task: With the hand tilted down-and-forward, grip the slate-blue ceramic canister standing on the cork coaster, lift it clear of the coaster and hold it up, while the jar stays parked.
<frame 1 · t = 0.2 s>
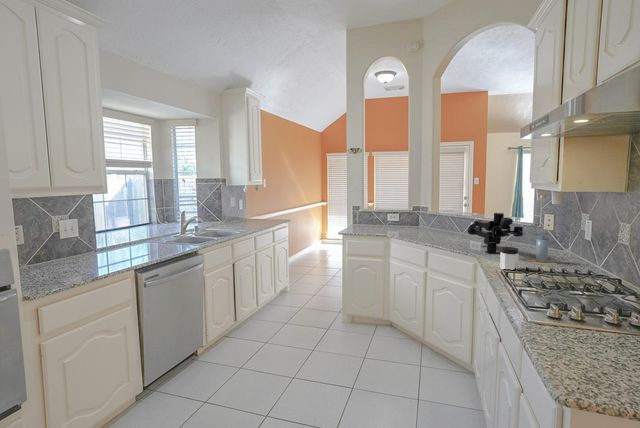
hand: (515, 234, 210), 17 cm above the countertop, tool horizontal, fingers open, 9 cm apart
coaster: (541, 262, 207), on the countertop
jar: (509, 269, 195), on the countertop
canister: (541, 261, 207), point 1 cm above the countertop, touching coaster
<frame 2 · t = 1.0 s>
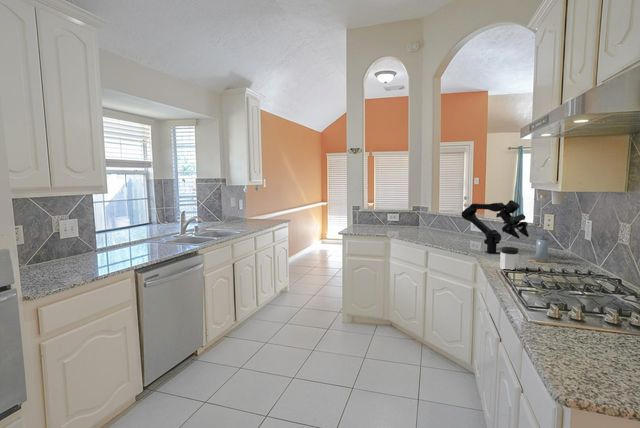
hand: (523, 237, 216), 14 cm above the countertop, tool tilted 45°, fingers open, 9 cm apart
nothing on the countertop moved.
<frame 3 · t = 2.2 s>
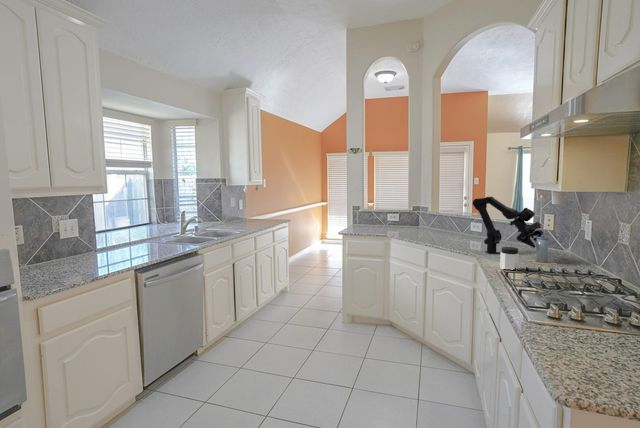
hand: (539, 246, 208), 10 cm above the countertop, tool tilted 45°, fingers open, 9 cm apart
nothing on the countertop moved.
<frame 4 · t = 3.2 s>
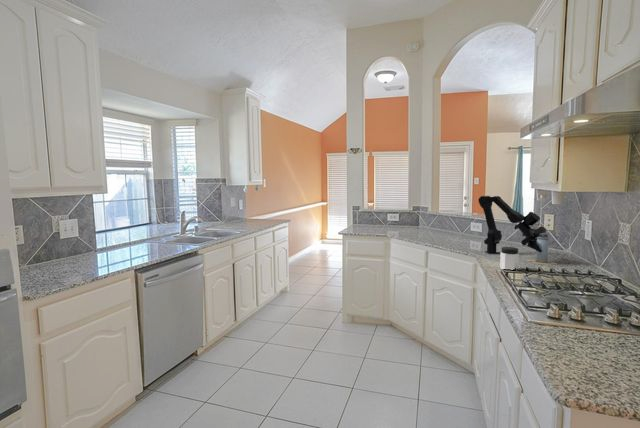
hand: (544, 251, 205), 7 cm above the countertop, tool tilted 45°, fingers closed on canister, 6 cm apart
canister: (541, 261, 207), point 1 cm above the countertop, touching coaster, gripper
everything else where it was.
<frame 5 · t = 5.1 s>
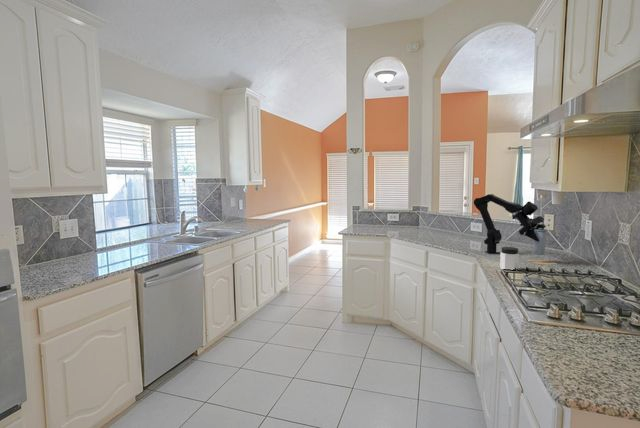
hand: (541, 240, 206), 13 cm above the countertop, tool tilted 45°, fingers closed on canister, 6 cm apart
canister: (538, 253, 209), point 5 cm above the countertop, touching gripper
everything else where it was.
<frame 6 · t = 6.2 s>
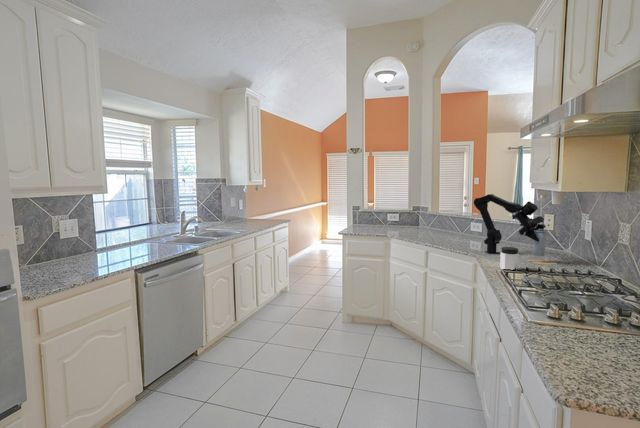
hand: (541, 240, 206), 13 cm above the countertop, tool tilted 45°, fingers closed on canister, 6 cm apart
canister: (538, 255, 209), point 4 cm above the countertop, touching gripper
everything else where it was.
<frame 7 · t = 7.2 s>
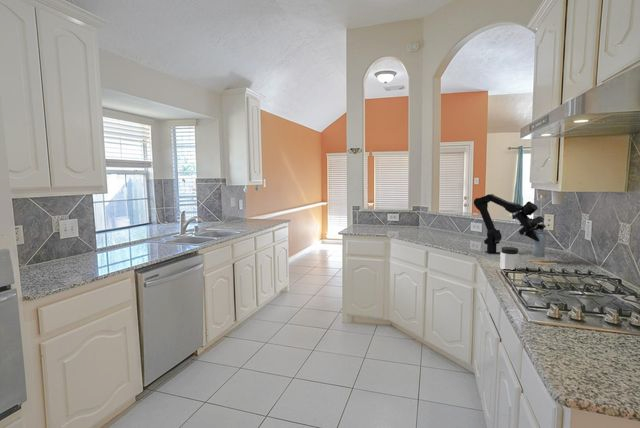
hand: (541, 240, 206), 13 cm above the countertop, tool tilted 45°, fingers closed on canister, 6 cm apart
canister: (538, 255, 209), point 4 cm above the countertop, touching gripper
everything else where it was.
at the end: the gripper is holding canister; canister point 3.9 cm above the countertop; canister touching gripper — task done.
